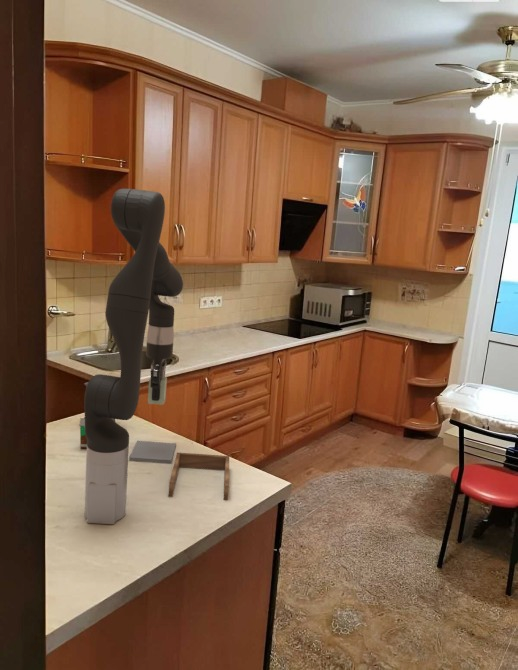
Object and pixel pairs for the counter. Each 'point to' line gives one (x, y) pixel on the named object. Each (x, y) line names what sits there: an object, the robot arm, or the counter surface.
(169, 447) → the slate mat
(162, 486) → the counter surface
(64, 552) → the counter surface
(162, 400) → the sage block
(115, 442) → the robot arm
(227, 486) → the wooden u-shaped frame
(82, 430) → the food container
